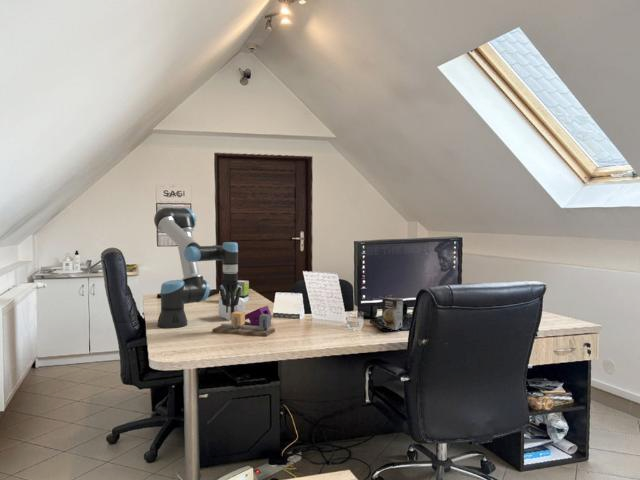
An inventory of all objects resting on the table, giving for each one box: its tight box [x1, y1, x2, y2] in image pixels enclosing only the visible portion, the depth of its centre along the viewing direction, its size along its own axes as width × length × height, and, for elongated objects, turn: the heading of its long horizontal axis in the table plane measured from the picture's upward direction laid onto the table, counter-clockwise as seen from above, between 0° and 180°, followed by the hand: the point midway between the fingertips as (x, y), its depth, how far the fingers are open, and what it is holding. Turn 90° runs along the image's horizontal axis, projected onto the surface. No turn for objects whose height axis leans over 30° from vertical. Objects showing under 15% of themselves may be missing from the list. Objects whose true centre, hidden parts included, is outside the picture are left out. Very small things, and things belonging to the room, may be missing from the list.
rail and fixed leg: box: [220, 313, 272, 331], centre depth 243 cm, size 26×6×8 cm, turn 74°
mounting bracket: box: [245, 305, 272, 326], centre depth 262 cm, size 10×9×19 cm
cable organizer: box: [218, 296, 246, 321], centre depth 278 cm, size 15×11×12 cm
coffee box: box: [381, 296, 404, 330], centre depth 253 cm, size 9×6×16 cm
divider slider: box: [230, 311, 246, 329], centre depth 244 cm, size 5×6×7 cm
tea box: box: [224, 279, 250, 303], centre depth 334 cm, size 15×10×15 cm
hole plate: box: [211, 325, 276, 337], centre depth 243 cm, size 29×11×2 cm, turn 74°
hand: (230, 319), depth 246 cm, fingers closed
